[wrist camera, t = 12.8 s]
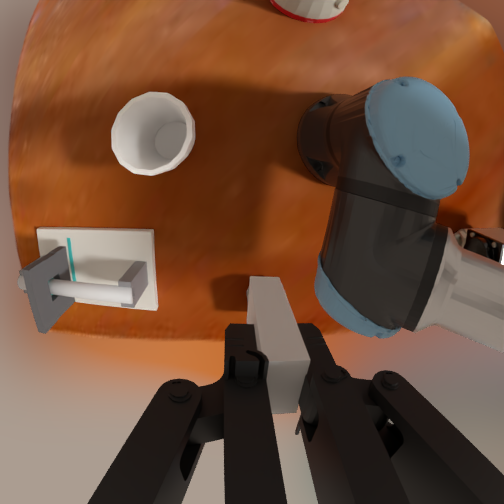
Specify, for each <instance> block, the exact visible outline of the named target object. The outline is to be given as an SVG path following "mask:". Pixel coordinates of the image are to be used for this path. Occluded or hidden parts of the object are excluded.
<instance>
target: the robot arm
mask: <svg viewBox="0 0 504 504" xmlns="http://www.w3.org/2000/svg"><path fill="white" fill-rule="evenodd" d="M297 144H298V149H299V153H300V156H301V158H302V160H303V162H304V164H305V166H306V167H307V168H308V170H309V171H310V172H311V173H312V174H313V175H314V176H315V177H316V178H317V179H319V180H320V181H322V182H324V183H326V184H328V185H331V186H334V187H336V189H335V191H334V196H333V201H332V206H331V211H330V216H329V220H328V225H327V229H326V233H325V237H324V241H323V245H322V249H321V251H320V253H319V256H318V269H317V274H316V278H315V286H314V287H315V294H316V296H317V298H318V299H319V303H320V304H321V306H322V307H323V309H324V310H325V311H326V312H327V313H328V314H329V315H330V316H331V317H332V318H333V319H334V320H336V321H337V322H338V323H340V324H341V325H343V326H344V327H346V328H348V329H350V330H352V331H354V332H356V333H358V334H361V335H364V336H368V337H373V336H377V337H378V338H389V337H391V336H393V335H395V334H396V333H397V332H398V331H400V329H401V327H402V328H404V329H407V330H410V331H412V332H414V333H416V332H418V331H420V330H423V329H425V328H427V327H429V326H433V325H436V326H438V327H441V328H443V329H446V330H448V331H451V332H453V333H456V334H458V335H461V336H463V337H465V338H468V339H470V340H473V341H475V342H478V343H481V344H483V345H485V346H488V347H490V348H493V349H495V350H498V351H500V352H503V353H504V265H503V264H501V263H498V262H496V261H494V260H491V259H489V258H486V257H484V256H481V255H479V254H476V253H474V252H471V251H469V250H466V249H464V248H462V247H461V246H459V244H458V242H457V240H456V238H455V236H454V234H453V232H452V230H451V228H449V227H446V226H443V225H441V224H438V223H436V217H437V212H438V208H439V204H440V199H442V198H445V197H447V196H449V195H451V194H453V193H454V192H455V191H456V190H457V186H458V185H461V184H462V183H463V181H464V179H465V177H466V173H467V170H468V165H469V143H468V137H467V133H466V130H465V127H464V124H463V122H462V119H461V118H460V117H459V116H458V114H457V111H456V109H455V107H454V105H453V104H452V102H451V101H450V100H449V99H448V98H447V97H446V95H445V94H444V93H442V92H441V91H440V90H439V89H438V88H437V87H435V86H434V85H432V84H430V83H429V82H427V81H424V80H422V79H419V78H415V77H399V78H396V79H392V80H384V81H381V82H379V83H377V84H375V85H373V86H371V87H369V88H367V89H365V90H363V91H361V92H359V93H358V94H356V95H354V96H352V95H346V94H336V95H330V96H327V97H324V98H322V99H320V100H319V101H317V102H315V103H314V104H313V105H311V106H310V107H309V108H308V109H307V110H306V112H305V113H304V115H303V116H302V118H301V120H300V123H299V127H298V132H297ZM298 404H299V406H300V410H301V415H300V418H299V421H298V424H297V427H296V432H295V434H296V435H298V434H299V431H300V429H301V433H302V438H303V442H304V446H305V450H306V454H307V458H308V463H309V467H310V470H311V475H312V479H313V484H314V487H315V492H316V496H317V500H318V504H504V475H503V474H502V473H501V472H500V471H499V470H498V469H497V468H496V467H495V466H494V465H493V464H492V463H491V462H490V461H489V460H488V459H487V458H486V457H485V456H484V455H483V454H482V453H481V452H480V451H479V450H478V449H477V448H476V447H475V446H474V445H473V444H472V443H471V442H470V441H469V440H468V439H467V438H466V437H465V436H464V435H463V434H462V433H461V432H460V431H459V430H457V428H455V427H454V426H453V425H452V424H451V423H450V422H449V421H448V420H447V419H446V418H445V417H444V416H443V415H442V414H441V413H440V412H439V411H438V410H437V409H436V408H435V407H434V406H432V404H431V403H430V402H429V401H428V400H427V399H425V398H424V397H423V396H422V395H421V394H420V393H419V392H418V391H417V390H416V389H415V388H414V387H413V386H412V385H411V384H410V383H409V382H407V380H406V379H405V378H403V377H402V376H401V375H399V374H398V373H396V372H393V371H386V370H385V371H380V372H378V373H377V374H375V375H374V377H373V379H372V380H364V379H357V378H352V377H351V376H350V374H349V373H348V371H347V370H345V369H344V368H342V367H341V366H338V365H336V363H335V361H334V359H333V357H332V355H331V353H330V351H329V349H328V347H327V345H326V342H325V340H324V339H323V336H322V334H321V332H320V330H319V329H318V328H317V327H316V326H314V325H313V324H312V323H298V324H297V323H296V320H295V318H294V315H293V312H292V310H291V307H290V304H289V302H288V299H287V297H286V294H285V291H284V289H283V286H282V284H281V281H280V279H279V277H258V276H250V283H249V297H248V311H247V324H231V323H230V325H229V326H228V327H227V328H226V330H225V359H224V374H223V376H222V377H221V378H220V380H218V381H217V382H215V383H213V384H210V385H206V386H200V387H198V386H197V385H196V384H195V383H194V382H191V381H189V380H185V379H173V380H170V381H168V382H165V383H164V384H163V385H162V386H161V387H160V388H159V389H158V391H157V392H156V394H155V395H154V397H153V399H152V400H151V402H150V404H149V405H148V407H147V408H146V410H145V411H144V413H143V415H142V416H141V418H140V419H139V421H138V423H137V425H136V426H135V427H134V429H133V431H132V432H131V434H130V436H129V437H128V439H127V440H126V442H125V444H124V445H123V447H122V449H121V450H120V452H119V453H118V455H117V456H116V458H115V460H114V461H113V463H112V464H111V466H110V468H109V469H108V471H107V473H106V474H105V476H104V477H103V479H102V481H101V482H100V484H99V486H98V487H97V489H96V490H95V492H94V494H93V495H92V497H91V499H90V500H89V502H88V504H181V503H182V501H183V498H184V496H185V493H186V491H187V488H188V486H189V483H190V481H191V478H192V476H193V473H194V471H195V468H196V465H197V463H198V460H199V458H200V455H201V452H202V449H203V447H204V445H205V443H206V442H211V441H215V440H220V439H224V482H225V504H287V499H286V494H285V488H284V482H283V476H282V470H281V464H280V459H279V453H278V447H277V441H276V436H275V429H274V423H273V417H272V414H284V413H296V411H297V408H298ZM389 419H390V420H391V421H392V422H393V423H394V424H391V423H389V422H388V420H389Z"/></svg>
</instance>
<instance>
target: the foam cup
mask: <svg viewBox="0 0 504 504" xmlns="http://www.w3.org/2000/svg"><path fill="white" fill-rule="evenodd" d="M111 139H112V150H113V152H114V154H115V155H116V157H117V159H118V161H119V163H120V164H121V165H122V166H124V167H125V168H127V169H128V170H130V171H131V172H132V173H134V174H142V175H150V176H153V175H158V174H161V173H163V172H166V171H169V170H172V169H175V168H176V167H177V166H178V165H179V164H180V163H181V162H182V161H183V160H184V159H185V158H187V157H188V155H189V153H190V152H191V150H192V148H193V145H194V143H195V142H194V141H195V121H194V119H193V117H192V115H191V113H190V112H189V110H188V108H187V106H186V105H185V104H184V103H183V102H182V101H180V100H179V99H177V98H175V97H174V96H172V95H170V94H169V93H162V92H148V93H145V94H143V95H140V96H138V97H135V98H133V99H131V100H130V101H129V102H128V103H127V104H126V105H125V106H124V107H123V108H122V109H121V110H120V111H119V112H118V115H117V117H116V119H115V122H114V124H113V127H112V130H111Z"/></svg>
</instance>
